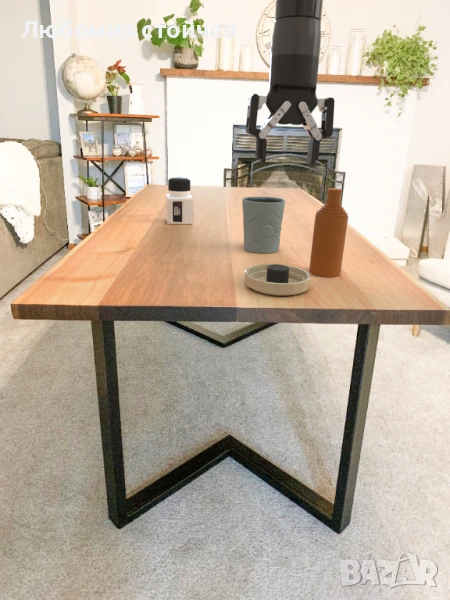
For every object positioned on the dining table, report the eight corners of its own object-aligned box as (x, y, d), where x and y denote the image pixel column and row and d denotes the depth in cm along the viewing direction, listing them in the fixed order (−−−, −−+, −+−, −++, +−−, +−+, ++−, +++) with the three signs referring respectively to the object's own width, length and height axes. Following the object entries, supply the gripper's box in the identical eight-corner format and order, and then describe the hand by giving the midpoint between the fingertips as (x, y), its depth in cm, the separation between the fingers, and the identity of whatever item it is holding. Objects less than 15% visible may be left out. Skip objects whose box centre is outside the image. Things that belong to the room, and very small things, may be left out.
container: (193, 224, 132) (193, 179, 127) (167, 224, 131) (166, 179, 126) (190, 219, 139) (191, 176, 134) (166, 219, 138) (165, 176, 133)
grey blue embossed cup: (269, 256, 102) (272, 204, 97) (231, 249, 107) (233, 198, 102) (288, 248, 110) (292, 199, 105) (252, 241, 115) (255, 194, 110)
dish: (297, 275, 89) (299, 263, 88) (318, 296, 78) (319, 283, 77) (239, 276, 88) (240, 264, 87) (252, 298, 77) (252, 284, 76)
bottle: (333, 267, 95) (344, 187, 89) (345, 277, 90) (357, 191, 83) (305, 267, 94) (313, 186, 88) (315, 277, 89) (325, 191, 82)
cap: (284, 280, 85) (285, 264, 84) (290, 287, 81) (291, 270, 80) (264, 280, 84) (265, 264, 83) (269, 287, 81) (270, 270, 79)
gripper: (255, 48, 65) (249, 164, 70) (347, 54, 67) (334, 166, 73) (245, 56, 71) (241, 161, 77) (329, 61, 74) (319, 162, 79)
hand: (286, 163), depth 75 cm, fingers open, 8 cm apart
